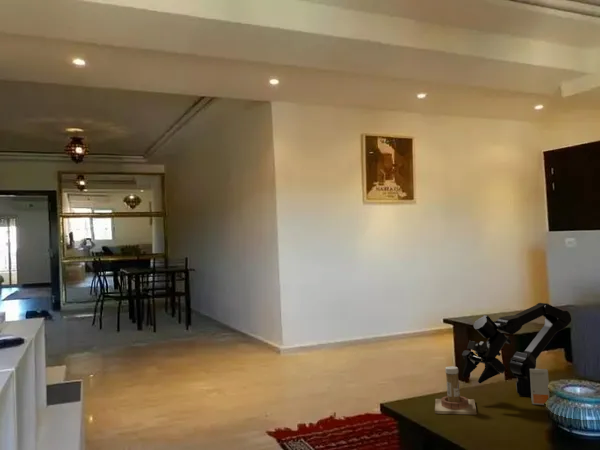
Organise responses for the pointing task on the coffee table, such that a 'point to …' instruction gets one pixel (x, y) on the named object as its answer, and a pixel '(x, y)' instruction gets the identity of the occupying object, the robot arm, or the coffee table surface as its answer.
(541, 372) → the skincare box
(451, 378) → the sprinkles bottle
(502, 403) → the coffee table surface
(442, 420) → the coffee table surface
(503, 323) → the robot arm
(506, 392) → the coffee table surface
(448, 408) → the collar base
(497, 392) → the coffee table surface
